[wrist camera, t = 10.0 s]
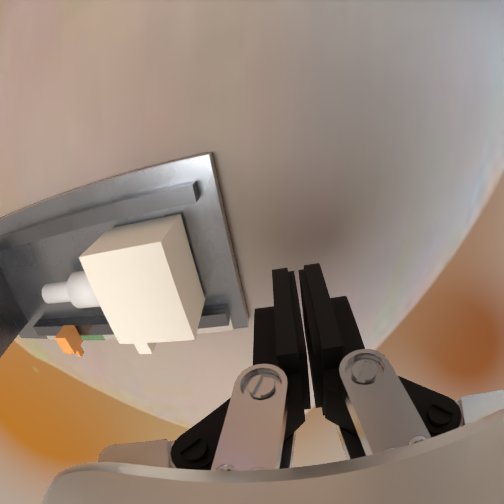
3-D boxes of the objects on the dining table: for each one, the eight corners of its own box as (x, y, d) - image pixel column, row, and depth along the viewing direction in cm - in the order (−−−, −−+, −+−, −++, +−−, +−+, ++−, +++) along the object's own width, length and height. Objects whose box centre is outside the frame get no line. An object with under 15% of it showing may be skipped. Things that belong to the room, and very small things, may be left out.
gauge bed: (211, 151, 17) (185, 174, 11) (248, 316, 22) (245, 390, 16) (-22, 228, 19) (-70, 261, 13) (26, 331, 24) (-6, 374, 18)
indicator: (74, 325, 20) (65, 337, 18) (89, 350, 21) (81, 364, 19) (63, 325, 20) (54, 337, 18) (78, 350, 21) (70, 363, 20)
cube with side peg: (180, 213, 17) (160, 241, 14) (213, 324, 21) (205, 366, 17) (46, 244, 18) (14, 270, 15) (88, 333, 22) (68, 366, 18)
